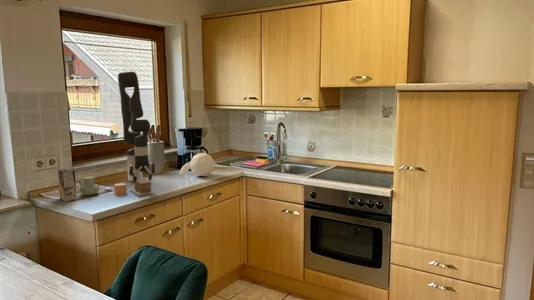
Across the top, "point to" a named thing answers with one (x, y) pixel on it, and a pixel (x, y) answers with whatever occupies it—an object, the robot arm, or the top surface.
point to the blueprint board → (141, 194)
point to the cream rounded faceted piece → (199, 165)
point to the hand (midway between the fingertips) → (142, 181)
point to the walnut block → (142, 186)
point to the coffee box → (67, 184)
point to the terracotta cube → (120, 189)
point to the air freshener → (89, 186)
